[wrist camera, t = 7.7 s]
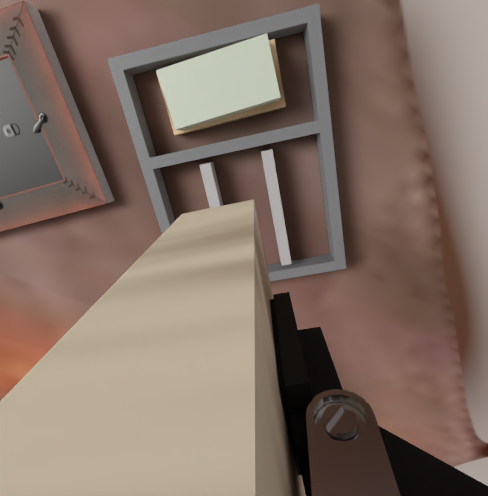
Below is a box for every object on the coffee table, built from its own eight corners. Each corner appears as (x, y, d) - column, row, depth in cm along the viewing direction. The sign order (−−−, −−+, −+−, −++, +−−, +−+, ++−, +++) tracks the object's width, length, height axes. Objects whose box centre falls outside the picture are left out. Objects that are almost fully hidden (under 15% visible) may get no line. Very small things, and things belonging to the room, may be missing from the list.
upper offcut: (163, 75, 25) (155, 70, 23) (266, 41, 24) (267, 33, 22) (180, 130, 26) (175, 129, 24) (278, 100, 25) (280, 97, 23)
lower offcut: (163, 77, 27) (156, 72, 25) (273, 46, 25) (274, 38, 24) (179, 135, 28) (174, 135, 26) (283, 108, 27) (285, 106, 25)
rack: (117, 65, 26) (107, 59, 24) (314, 14, 24) (319, 3, 22) (185, 288, 33) (181, 296, 31) (340, 260, 31) (346, 268, 29)
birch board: (181, 213, 12) (-769, 1198, 1) (253, 199, 12) (254, 1398, 1) (225, 368, 15) (135, 1108, 3) (285, 359, 14) (399, 1135, 3)
